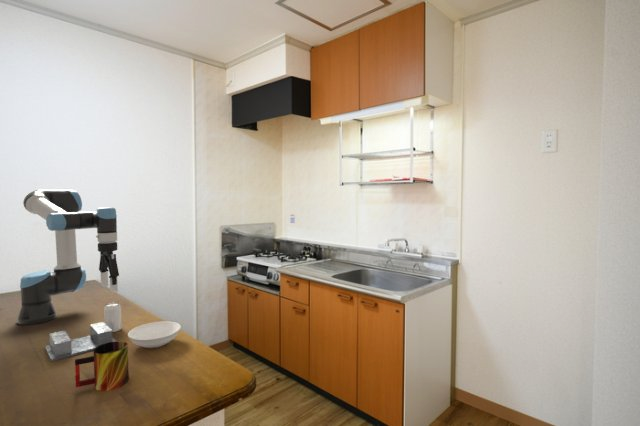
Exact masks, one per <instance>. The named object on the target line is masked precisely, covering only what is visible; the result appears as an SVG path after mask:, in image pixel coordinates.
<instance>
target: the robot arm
mask: <svg viewBox="0 0 640 426" xmlns="http://www.w3.org/2000/svg"><path fill="white" fill-rule="evenodd" d="M22 204H23V207H24V209H25V210H26V211H27V212H28V213H31V214H33V215H38V216H39V217H40V218H42V219H44V220H45V224H46V227H47V229H48V230H49V231H52V232H54V233H55V234H54V235H55V249H56V250H55V251H56V265H55V267H54V268H53V272H51V271H50V270H38V271H33V272H30V273H27V274H25V275H23V276H22V277H21V278H20V285H19V287H20V303H21V307H20V310H19V313H18V316H17V319H16V321H17V324H18V325H21V326H24V325H25V326H27V325H29V326H30V325H36V324H42V323H45V322H49V321H51V320H54V319H55V318H57V310H56V309H55V306H54V304H53V302H52V296H57V295H63V294H68V293H74V292H77V291H81V290H82V289H84V287H85V285H86V281H87V273H86V270H85V269H84V268H83V267H82V266H81V264H80V263H78V257H77V256H78V254H77V241H76V239H77V238H76V230H83V229H84V230H85V229H96V231H97V233H96V234H97V235H95V237H96V238H97V242H98V243H97V251H98V252H100V255H99V256H100V257H99V264H98V265H99V266H98V271H100V287H102V288H104V287H109V291H110V293H117V292H119V290H118V277H120V272H119V268H118V261H117V254H116V253H114V252H115V251H117V250H118V232H117V229H118V227H117V223H118V221H117V216H118V215H117V209H116V208H114V207H98V208H96V210H95V211H93V210H91V211H81V210H82V207H83V201H82V198H81V195H80V194H79V192H78V191H77V190H73V189H66V188H65V189H63V188H62V189H59V188H58V189H52V188H51V189H49V188H48V189H43V188H42V189H36V190H33V191H31V192H29V193H27V195H26V196H25V197H24V199H23V203H22ZM108 272H109V273H108Z"/></svg>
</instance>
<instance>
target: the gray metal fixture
mask: <svg viewBox="0 0 640 426" xmlns="http://www.w3.org/2000/svg"><path fill="white" fill-rule="evenodd" d="M89 329H90V330H89V333H90V335H86V336H80V337H78V338H75V339H71V338H70V336H69V335H68V333H67V332H66V330H61V331H55V332H52V333H49V344H48V345H45V346H44V349H45V350H46V354H47V356H48V358H49V360H50V361H51V362H53V361H54V362H55V361H58V360H63V359H66V358H69V357H73V356H76V355H77V356H78V355H81V354H84V353H89V352H92V351H94V349H95V348H96V347H98V346H100V345H102V344H105V343H109V342H115V341H117V340H116V339H115V338H114V337H113V332H112V330H111V329H110V328H109V327H108V326H107V325H106V324H105V321H101V322H95V323H92V324H90V325H89Z"/></svg>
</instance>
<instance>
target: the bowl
mask: <svg viewBox="0 0 640 426" xmlns="http://www.w3.org/2000/svg"><path fill="white" fill-rule="evenodd" d="M181 327H182V326H181V324H179V323H178V322H174V321H164V320H163V321H154V322H148V323H144V324H141V325H138V326H136V327H133V328H132V329H130V330H129V332H128V333H127V337H128V338H129V339H130V340H131V342H132V343H133V344H134V345H137V346H139V347H143V348H145V349H146V348H147V349H153V348H154V349H155V348H159V347H162V346H164V345H167V344H168V343H170V342H171V341H172V340H174V339H175V338H176V337H177V335H178V333H179V332H180V330H181Z"/></svg>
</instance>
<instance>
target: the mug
mask: <svg viewBox="0 0 640 426" xmlns="http://www.w3.org/2000/svg"><path fill="white" fill-rule="evenodd" d="M89 363H93V373H94V377H92V378H87V379H83V380H81V377H80V374H81V372H80V370H81V369H80V365H85V364H89ZM74 365H75V367H74V369H75V375H74V376H75V379H74V380H75V388H76V389H77V388H80V387H85V386H90V385H94V389H95V390H96V391H98V392H108V391H113V390H116V389H119V388H121V387H123V386H124V385H126V384H127V383H128V382H129V379H130V378H129V376H130V375H129V371H130V370H129V345H128V343H127V342H126V341H121V340H116V341H115V342H109V343H105V344H102V345H100V346H98V347H96V348H95V349H94V350H93V355H92V356H87V357H86V356H85V357H81V358H75V360H74Z"/></svg>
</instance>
